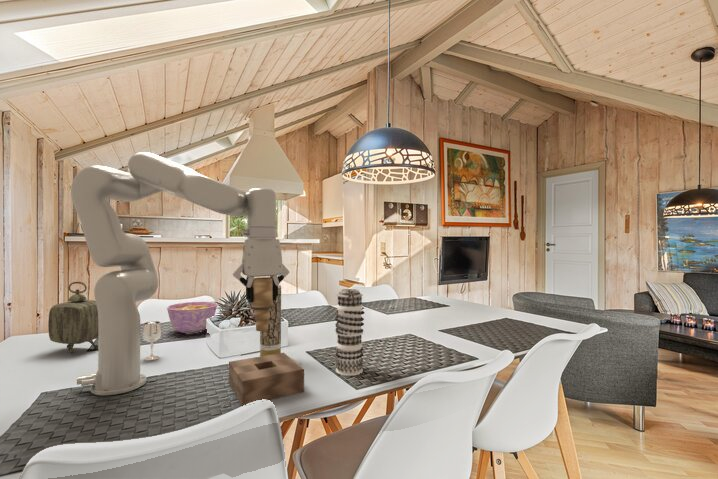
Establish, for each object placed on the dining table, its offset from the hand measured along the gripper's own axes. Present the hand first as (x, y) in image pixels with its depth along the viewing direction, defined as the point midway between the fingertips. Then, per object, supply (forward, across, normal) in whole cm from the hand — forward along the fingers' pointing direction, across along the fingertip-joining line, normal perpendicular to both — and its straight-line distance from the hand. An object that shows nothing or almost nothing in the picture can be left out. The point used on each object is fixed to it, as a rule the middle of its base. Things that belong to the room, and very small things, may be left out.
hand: (262, 300), depth 95 cm
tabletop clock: (+23, -49, +65) cm, 84 cm away
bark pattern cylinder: (+24, +9, +21) cm, 33 cm away
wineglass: (+24, -26, +43) cm, 55 cm away
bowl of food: (+24, -10, +74) cm, 78 cm away
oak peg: (+8, 0, 0) cm, 8 cm away
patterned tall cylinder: (+24, +27, 0) cm, 36 cm away
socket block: (+24, +1, 0) cm, 24 cm away
